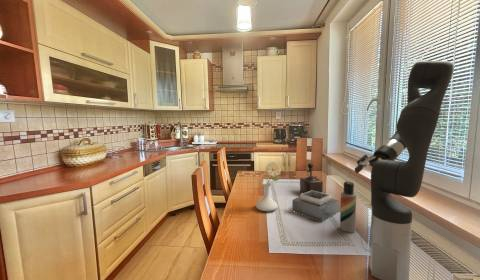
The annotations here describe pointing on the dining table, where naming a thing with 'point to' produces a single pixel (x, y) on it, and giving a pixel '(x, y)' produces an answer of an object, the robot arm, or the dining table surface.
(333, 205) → the gray square holder
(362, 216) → the dining table surface
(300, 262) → the dining table surface
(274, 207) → the flower in vase
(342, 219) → the lotion bottle
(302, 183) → the bronze sculpture
